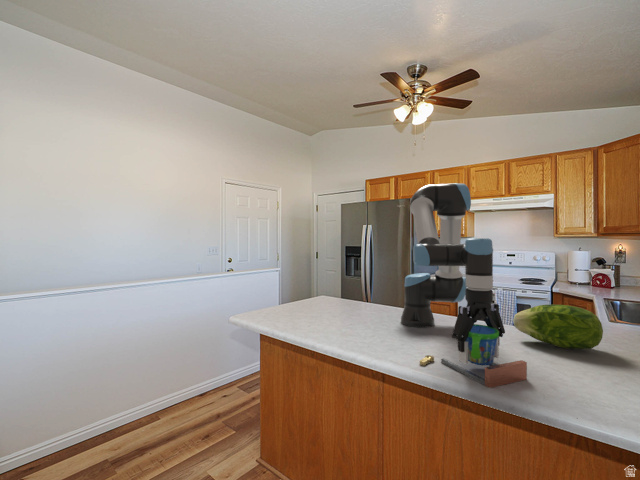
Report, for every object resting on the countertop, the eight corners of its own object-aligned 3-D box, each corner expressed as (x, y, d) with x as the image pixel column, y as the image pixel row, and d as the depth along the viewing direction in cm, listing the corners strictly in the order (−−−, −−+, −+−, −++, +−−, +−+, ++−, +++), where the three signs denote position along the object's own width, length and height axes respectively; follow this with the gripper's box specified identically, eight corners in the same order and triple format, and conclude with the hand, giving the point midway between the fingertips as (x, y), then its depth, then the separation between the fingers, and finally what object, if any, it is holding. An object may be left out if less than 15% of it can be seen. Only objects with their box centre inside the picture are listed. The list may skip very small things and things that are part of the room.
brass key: (427, 358, 106) (427, 354, 106) (435, 360, 104) (435, 356, 104) (417, 364, 101) (417, 360, 101) (426, 366, 99) (426, 362, 99)
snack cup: (493, 375, 87) (492, 338, 87) (453, 365, 94) (453, 331, 94) (503, 358, 99) (503, 325, 99) (467, 350, 106) (467, 320, 106)
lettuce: (515, 334, 131) (514, 297, 131) (600, 347, 115) (600, 304, 115) (511, 344, 119) (510, 303, 119) (605, 360, 103) (605, 313, 103)
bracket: (474, 356, 107) (474, 341, 107) (526, 379, 89) (526, 362, 89) (441, 362, 102) (441, 347, 102) (489, 387, 85) (489, 369, 85)
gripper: (497, 284, 104) (497, 350, 104) (438, 289, 96) (439, 360, 96) (518, 287, 97) (518, 358, 97) (457, 293, 89) (457, 370, 89)
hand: (479, 359), depth 97 cm, fingers closed on snack cup, 11 cm apart
